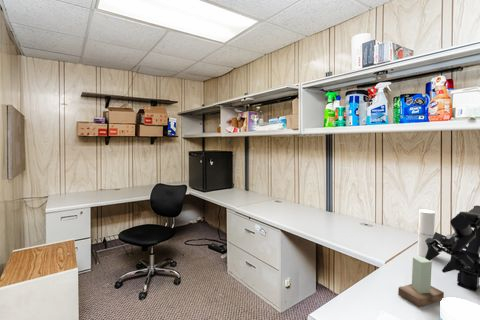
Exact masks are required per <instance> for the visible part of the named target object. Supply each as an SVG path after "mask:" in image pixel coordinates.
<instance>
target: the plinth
mask: <svg viewBox="0 0 480 320" xmlns="http://www.w3.org/2000/svg"><path fill="white" fill-rule="evenodd" d="M397 293H398V295H399V296H400V297H402V298H404V299H405V300H407V302H410V303H412V304H414V305H415V306H416V307H418V308H421V307H424V306H427V305H431V304H433V303H437V302H439V301H438V300H440V299H442V298H444V299H445V297H444V295H445V294H444V293H445V292H444V291H442V290H441V289H438V288H436V287H435V286H432V285H431V288H430V293H419V292H417V291H416V290H415V289H413V288H412V283H410V284H407V285H402V286H398V291H397ZM440 301H441V300H440Z"/></svg>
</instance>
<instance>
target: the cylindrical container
mask: <svg viewBox="0 0 480 320" xmlns="http://www.w3.org/2000/svg"><path fill="white" fill-rule="evenodd" d="M435 217H436V211H433V210H432V209H431V210H429V209H419V210H418V226H417V228H418V229H417V232H418V233H417V253H416V254H417V255H418V256H419V257H424V258H425V257H426V254H427V251H428V246H427V244H426V242H425V240H426V239H427V238H433V236H434V234H435V220H436V218H435Z"/></svg>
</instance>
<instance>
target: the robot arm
mask: <svg viewBox="0 0 480 320" xmlns="http://www.w3.org/2000/svg"><path fill="white" fill-rule="evenodd" d="M449 223H450V225H451V228H452V229H453V231H454V232H453V233H452V234H447V235H444V234H442V233H439V232H437V231H434V236H433V238H427V239H426V240H425V242H426V244H427V246H428V251H427V254H426V257H424V258H426V259H427V260H429V261H431V260H433V259H435V258H437V256H439V255H441V253H442V252H443V253H444V254H445V253H446V254H448V255H449V256H450V260H449V261H448V263H446V264H445V265H444V266H443V268H442V270H441V272H442V273H448V272H452V271H457V277H456V281H457V283H456V284H457V286H460V287H462V288H465V289H468V290H471V291H473V292H477V291H478V290H479V288H480V205H474V206H473V208H471V209H470V210H468V211H459V213H457V214H456V215H455V216H454V217H453V218H452V219H450V222H449ZM472 228H473V229H472Z"/></svg>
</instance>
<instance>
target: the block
mask: <svg viewBox="0 0 480 320" xmlns="http://www.w3.org/2000/svg"><path fill="white" fill-rule="evenodd" d="M432 262H433V261H431V260H430V261H429V260H427V259H426V258H425V257H422V256H417V257H416V256H415V257H412V272H411V273H412V275H411V284H412V288H413V289H415V290H416V291H417V292H419V293H430V288H431V286H432V284H431V283H432V265H433V264H432Z"/></svg>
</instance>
